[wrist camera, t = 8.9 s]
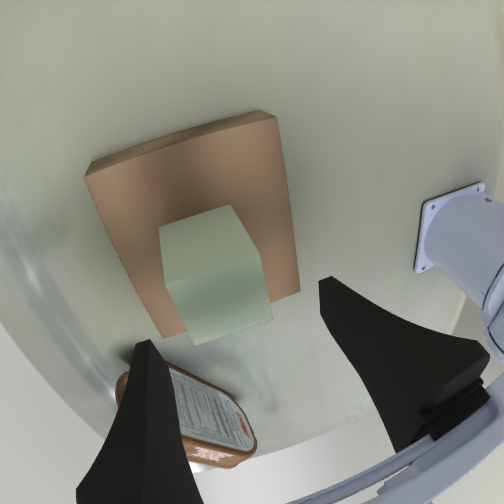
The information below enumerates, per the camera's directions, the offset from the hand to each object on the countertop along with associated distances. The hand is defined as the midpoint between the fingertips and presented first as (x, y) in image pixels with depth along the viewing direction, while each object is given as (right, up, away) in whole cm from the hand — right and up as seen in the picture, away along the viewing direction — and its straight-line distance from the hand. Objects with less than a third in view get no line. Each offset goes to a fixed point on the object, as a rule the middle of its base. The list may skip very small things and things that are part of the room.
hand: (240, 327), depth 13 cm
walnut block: (-3, +5, +8) cm, 10 cm away
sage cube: (-2, +3, +5) cm, 7 cm away
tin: (-6, -9, +15) cm, 19 cm away
